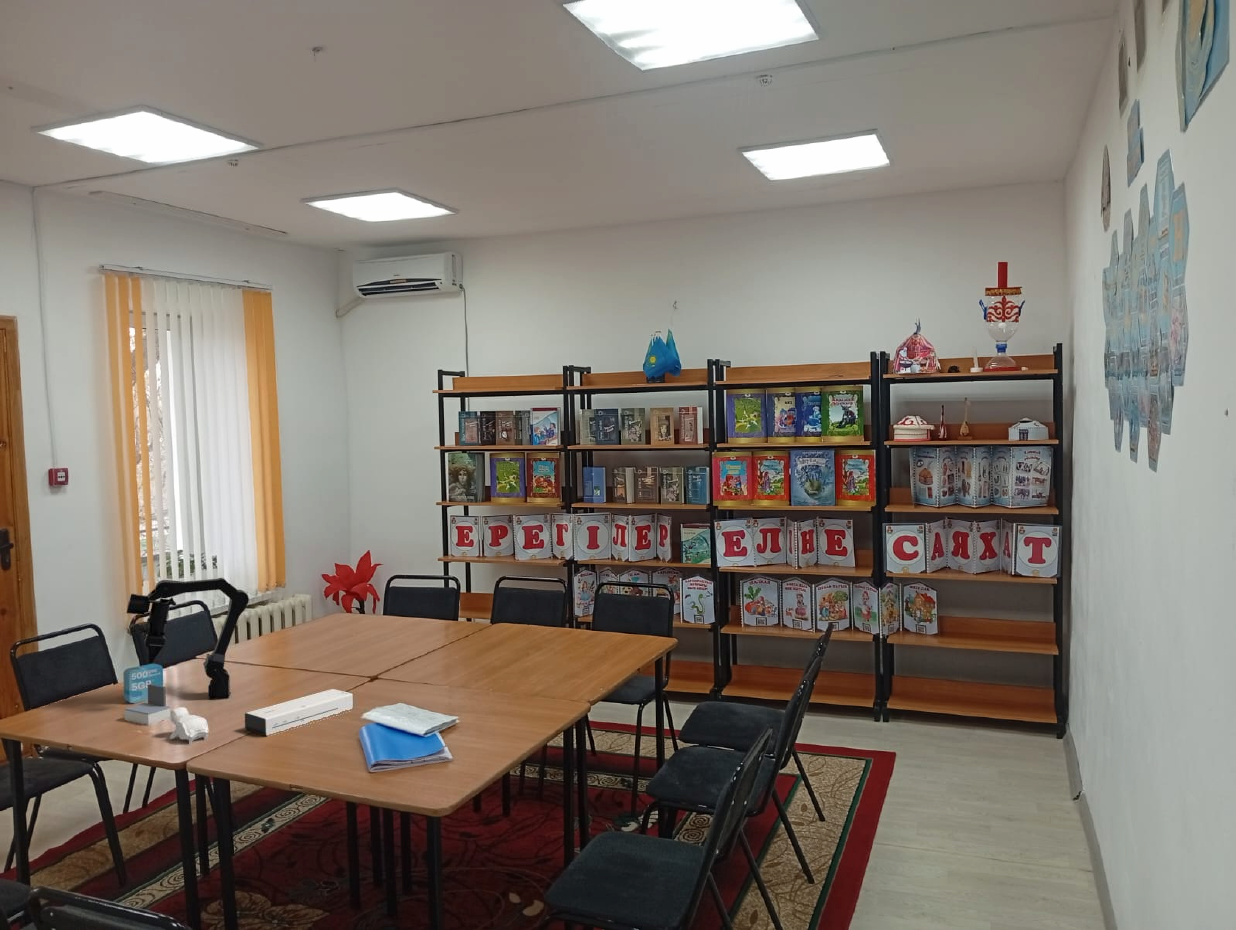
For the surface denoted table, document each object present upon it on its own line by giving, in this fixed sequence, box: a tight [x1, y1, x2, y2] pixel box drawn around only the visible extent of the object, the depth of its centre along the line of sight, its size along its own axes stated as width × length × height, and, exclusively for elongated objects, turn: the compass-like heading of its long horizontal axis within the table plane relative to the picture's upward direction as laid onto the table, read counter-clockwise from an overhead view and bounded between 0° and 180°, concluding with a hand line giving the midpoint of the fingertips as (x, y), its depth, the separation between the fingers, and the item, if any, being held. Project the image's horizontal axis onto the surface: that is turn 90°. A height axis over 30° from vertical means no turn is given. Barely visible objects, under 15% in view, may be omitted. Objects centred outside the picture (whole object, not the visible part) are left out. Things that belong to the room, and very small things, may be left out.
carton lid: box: [124, 684, 171, 715], centre depth 305 cm, size 8×12×7 cm, turn 63°
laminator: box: [244, 688, 354, 736], centre depth 304 cm, size 34×12×6 cm, turn 144°
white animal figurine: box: [169, 706, 210, 745], centre depth 287 cm, size 9×8×15 cm
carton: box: [124, 707, 171, 726], centre depth 305 cm, size 8×12×4 cm, turn 63°
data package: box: [122, 663, 164, 704], centre depth 328 cm, size 12×4×12 cm, turn 142°
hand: (149, 660), depth 320 cm, fingers open, 9 cm apart
